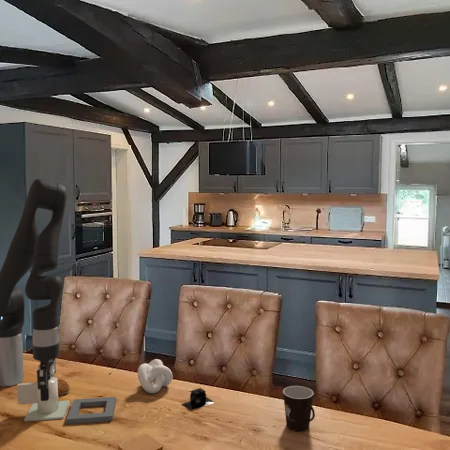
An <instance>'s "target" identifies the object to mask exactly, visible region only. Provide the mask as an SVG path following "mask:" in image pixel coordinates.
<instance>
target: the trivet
mask: <svg viewBox="0 0 450 450" xmlns="http://www.w3.org/2000/svg"><path fill="white" fill-rule="evenodd" d="M70 403H71V400H60V401H59V400H58V405H59V408H58V410H57V411H55V412H53V413H50V414H40V413H38V408H37V403H32V405H31V407H30V408H29V410H28V412H27V413H26V415H25V416H24V419H23V422H34V421H35V422H37V421H50V420H63V419H65V416H66V413H67V411H68V408H69V406H70Z"/></svg>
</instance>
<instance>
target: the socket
mask: <svg viewBox="0 0 450 450" xmlns="http://www.w3.org/2000/svg"><path fill="white" fill-rule="evenodd" d="M116 403H117V396H107V397H93V398H92V397H91V398H90V397H89V398H78V399H77V398H73V401H72V403H71V406H70V408H69V412H68V414H67V416H66V420H65V425H72V424H73V425H74V424H89V423H91V424H92V423H101V422H103V423H104V422H113V421H114V416H115V415H114V414H115V409H116V405H117V404H116ZM100 406H105V409H104V412H93V413H80V411H81V408H86V407H88V408H89V407H100Z"/></svg>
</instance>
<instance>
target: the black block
mask: <svg viewBox="0 0 450 450" xmlns="http://www.w3.org/2000/svg"><path fill="white" fill-rule="evenodd" d="M214 403H215V401H214V400H212V399H210V398H209V397H208V396H207V393H206V390H204V389H202V388H197V389H193V390H191V391H190V394H189V401H187V402H183V403H181V404H180V405H181V406H182V407H184V408H186V409H187V410H188V411H193V410H196V409H199V408H202V407H203V408H204V407H205V406H209V405H211V404H214Z"/></svg>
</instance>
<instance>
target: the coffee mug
mask: <svg viewBox="0 0 450 450" xmlns="http://www.w3.org/2000/svg"><path fill="white" fill-rule="evenodd" d="M314 394H315V393H314V391H313V390H312V389H310V388H309V387H305V386H301V385H300V386H299V385H290V386H287V387H285V388H283V390H282V396H283V403H284V405H283V406H284V414H285V423H286V428H287V429H288V430H289V431H293V432H299V433H301V432H303V433H304V432H306V431H308V430H309V429H310V423H311V422H312V421H313V420H314V419H315V416H316V414H315V409H314V407H313V401H314ZM311 415H312V417H311Z"/></svg>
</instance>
